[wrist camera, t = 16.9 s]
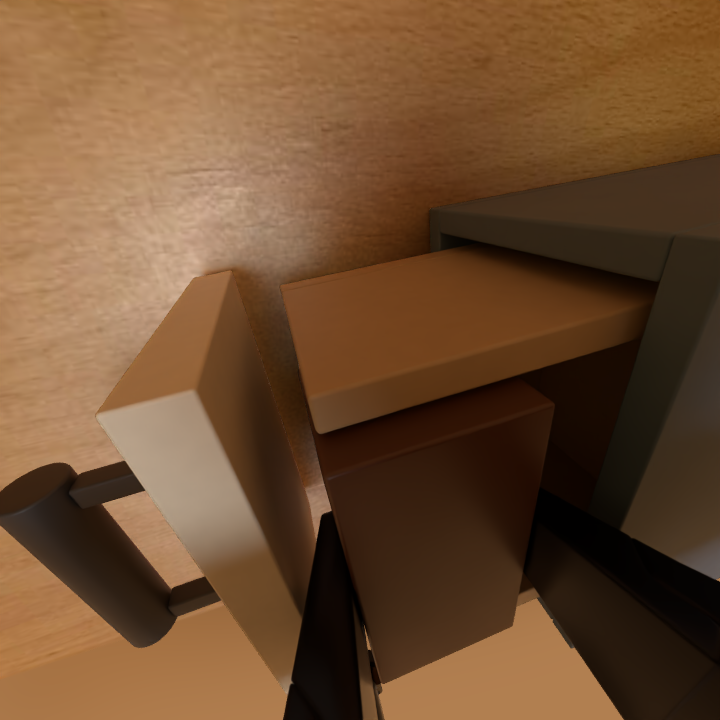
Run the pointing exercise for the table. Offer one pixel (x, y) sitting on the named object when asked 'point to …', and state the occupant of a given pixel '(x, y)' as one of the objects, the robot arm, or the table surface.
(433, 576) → the chocolate bar
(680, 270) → the cabinet
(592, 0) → the table surface
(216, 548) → the drawer
